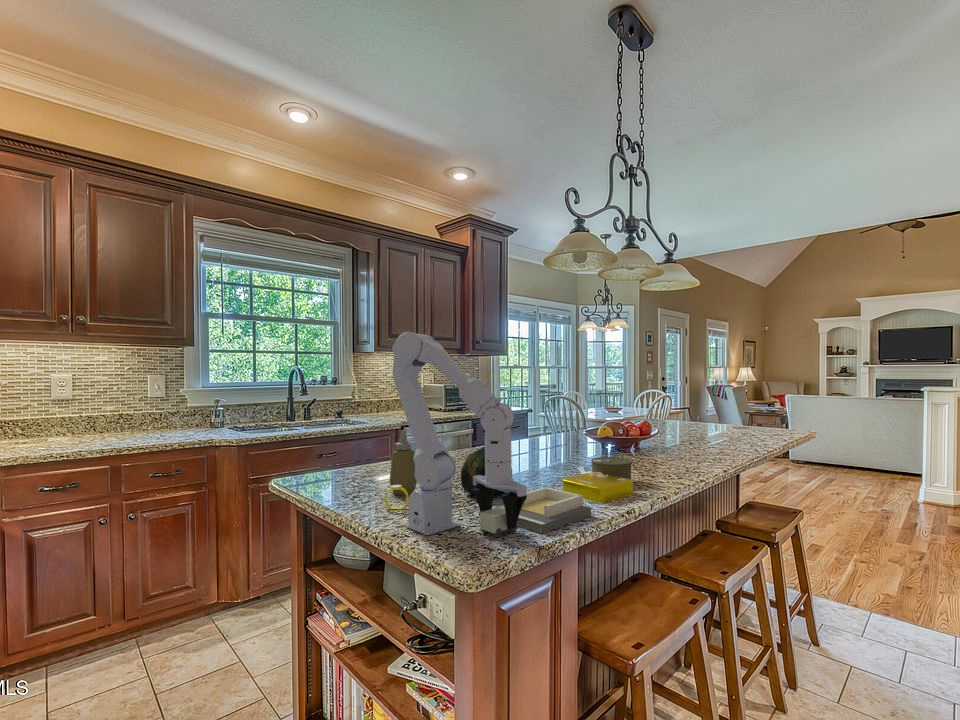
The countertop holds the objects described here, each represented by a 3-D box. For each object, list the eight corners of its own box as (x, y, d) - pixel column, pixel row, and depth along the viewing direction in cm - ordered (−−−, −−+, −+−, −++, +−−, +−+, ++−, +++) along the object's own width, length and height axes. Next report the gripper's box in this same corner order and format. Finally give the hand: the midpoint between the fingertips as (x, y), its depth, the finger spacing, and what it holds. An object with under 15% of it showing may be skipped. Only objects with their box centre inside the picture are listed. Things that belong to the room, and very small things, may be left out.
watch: (384, 512, 119) (382, 488, 119) (386, 508, 122) (384, 485, 122) (408, 509, 119) (406, 486, 119) (409, 506, 122) (407, 483, 122)
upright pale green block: (494, 539, 98) (494, 517, 98) (480, 534, 101) (480, 512, 101) (517, 531, 102) (517, 510, 102) (503, 526, 106) (503, 505, 106)
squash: (444, 472, 137) (468, 437, 131) (482, 467, 147) (506, 434, 141) (468, 513, 129) (494, 477, 122) (506, 505, 139) (532, 471, 132)
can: (636, 487, 140) (635, 464, 140) (594, 487, 141) (594, 464, 141) (627, 478, 152) (627, 457, 152) (589, 478, 153) (589, 456, 153)
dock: (542, 534, 100) (542, 512, 101) (490, 517, 112) (490, 498, 112) (591, 515, 113) (590, 496, 113) (539, 502, 124) (539, 485, 125)
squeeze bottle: (392, 489, 140) (392, 428, 141) (419, 489, 140) (419, 428, 140) (386, 496, 132) (385, 432, 133) (415, 496, 132) (414, 432, 132)
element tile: (559, 493, 135) (559, 477, 135) (593, 485, 144) (593, 469, 144) (602, 505, 123) (602, 486, 123) (636, 495, 132) (636, 478, 132)
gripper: (536, 462, 99) (536, 527, 99) (488, 454, 110) (489, 512, 110) (512, 467, 95) (513, 535, 94) (465, 457, 105) (466, 519, 105)
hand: (499, 523), depth 102 cm, fingers open, 7 cm apart
